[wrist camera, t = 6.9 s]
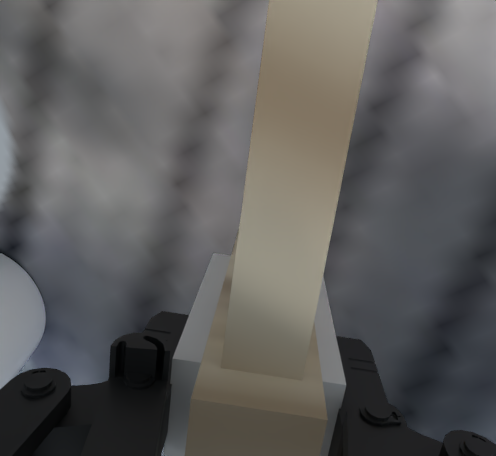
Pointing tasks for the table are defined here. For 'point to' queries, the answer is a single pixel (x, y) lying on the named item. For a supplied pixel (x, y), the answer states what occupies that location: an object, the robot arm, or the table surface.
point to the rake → (283, 238)
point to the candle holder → (18, 318)
